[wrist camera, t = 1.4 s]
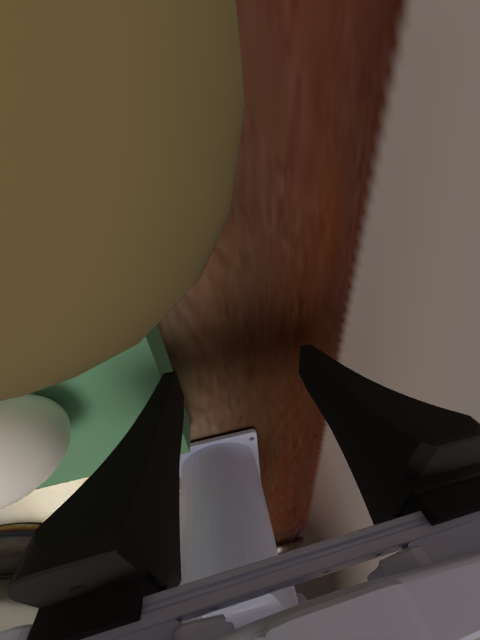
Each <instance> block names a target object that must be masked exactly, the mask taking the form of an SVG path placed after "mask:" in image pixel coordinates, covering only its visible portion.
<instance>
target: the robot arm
mask: <svg viewBox="0 0 480 640" xmlns="http://www.w3.org/2000/svg"><path fill="white" fill-rule="evenodd" d="M299 374H300V376H301V378H302V381H303V383H304V385H305V387H306V389H307V390H308V392H309V394H310V395H311V397H312V399H313V400H314V402H315V403H316V405H317V407H318V408H319V410H320V411H321V413H322V415H323V416H324V418H325V419H326V421H327V423H328V425H329V426H330V428H331V430H332V432H333V434H334V436H335V438H336V440H337V442H338V444H339V446H340V448H341V450H342V452H343V454H344V456H345V458H346V460H347V463H348V465H349V467H350V469H351V472H352V474H353V476H354V478H355V480H356V483H357V485H358V487H359V489H360V492H361V494H362V497H363V499H364V501H365V504H366V506H367V509H368V511H369V514H370V516H371V518H372V521H373V524H374V525H373V526H370V527H367V528H363V529H360V530H357V531H354V532H351V533H347V534H344V535H341V536H338V537H335V538H331V539H328V540H325V541H322V542H318V543H315V544H312V545H309V546H305V547H302V548H299V549H296V550H293V551H289V552H286V553H283V554H280V555H278V552H277V548H276V543H275V539H274V535H273V531H272V527H271V522H270V518H269V514H268V510H267V505H266V501H265V497H264V493H263V489H262V484H261V480H260V467H259V456H258V444H257V433H256V430H255V429H248V430H244V431H240V432H235V433H231V434H227V435H223V436H218V437H214V438H210V439H206V440H201V441H197V442H193V443H190V452H189V453H185V454H181V455H180V453H181V443H182V432H183V422H184V396H183V393H182V390H181V387H180V383H179V380H178V377H177V374H176V371H172V372H167V373H164V374H163V375H162V377H161V379H160V381H159V382H158V384H157V386H156V388H155V390H154V392H153V393H152V395H151V397H150V398H149V400H148V402H147V403H146V405H145V407H144V408H143V410H142V411H141V413H140V414H139V416H138V417H137V419H136V421H135V422H134V424H133V425H132V426H131V428H130V429H129V431H128V432H127V433H126V435H125V436H124V437H123V439H122V440H121V441H120V442H119V444H118V445H117V446H116V447H115V449H114V450H113V451H112V452H111V453H110V455H109V456H108V457H107V458H106V459H105V461H104V462H103V463H102V464H101V465H100V466H99V467H98V469H97V470H96V471H95V472H94V473H93V474H92V475H91V476H90V477H89V478H88V479H87V480H86V481H85V482H84V483H83V485H82V486H81V487H80V488H79V489H78V490H77V491H76V492H75V493H74V494H73V495H72V496H71V497H70V498H69V499H68V500H67V501H66V502H65V503H63V504H62V505H61V506H60V507H59V508H58V509H57V510H56V511H55V512H54V513H53V514H52V515H51V516H50V517H49V518H48V519H46V520H45V521H44V522H43V523H42V524H41V525H40V526H39V527H38V528H37V529H36V530H35V532H34V534H33V536H32V538H31V540H30V541H29V543H28V545H27V547H26V550H25V552H24V554H23V556H22V558H21V560H20V562H19V564H18V567H17V569H16V571H15V573H14V575H13V577H12V579H11V581H10V584H9V586H8V588H7V590H6V593H7V595H8V597H9V599H11V600H13V601H16V602H19V603H23V604H26V605H29V606H33V607H36V608H39V609H38V612H37V615H36V617H35V620H34V623H33V624H28V625H21V626H17V627H14V628H10V629H7V630H4V631H0V640H474V639H477V638H479V637H480V424H479V423H478V422H477V421H476V420H474V419H473V418H472V417H471V416H468V415H465V414H461V413H458V412H454V411H450V410H447V409H444V408H440V407H437V406H434V405H431V404H428V403H425V402H422V401H419V400H416V399H414V398H411V397H408V396H406V395H403V394H401V393H398V392H396V391H393V390H391V389H388V388H386V387H384V386H382V385H380V384H378V383H375V382H373V381H371V380H369V379H367V378H365V377H363V376H361V375H360V374H358V373H356V372H354V371H352V370H350V369H349V368H347V367H345V366H344V365H342V364H340V363H339V362H337V361H336V360H334V359H332V358H331V357H329V356H328V355H326V354H325V353H323V352H322V351H320V350H319V349H317V348H315V347H314V346H312V345H306V346H301V350H300V364H299ZM179 477H180V479H181V492H180V514H179ZM402 549H403V550H402ZM399 550H401V551H399ZM396 551H399V552H397V553H395V554H393V555H391V556H389V557H387V558H384V559H382V560H380V561H379V566H378V567H377V568H376V569H375V570H374V571H373V572H372V573H370V574H369V575H368V577H367V579H368V581H367V582H364V583H361V584H357V585H354V586H351V587H348V588H344V589H341V590H338V591H335V592H332V593H329V594H326V595H323V596H320V597H318V598H315V599H312V600H309V601H307V600H306V598H305V597H304V596H303V595H301V594H300V593H296V592H295V588H294V585H296V584H299V583H302V582H305V581H308V580H311V579H314V578H317V577H320V576H323V575H326V574H329V573H332V572H335V571H338V570H341V569H344V568H347V567H350V566H353V565H356V564H359V563H362V562H365V561H368V560H372V559H375V558H377V557H380V556H384V555H386V554H390V553H393V552H396Z"/></svg>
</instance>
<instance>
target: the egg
mask: <svg viewBox="0 0 480 640" xmlns="http://www.w3.org/2000/svg"><path fill="white" fill-rule="evenodd" d="M70 439H71V424H70V420H69V417H68V415H67V414H66V412H65V411H64V409H63V408H62V407H61V406H60V405H59V404H57V403H56V402H54V401H53V400H51V399H49V398H46V397H43V396H39V395H33V394H27V395H24V396H21V397H17V398H12V399H8V400H3V401H0V509H2V508H4V507H6V506H9V505H11V504H13V503H15V502H17V501H19V500H20V499H22V498H23V497H25V496H27V495H28V494H30V493H31V492H33V491H34V490H35V489H37V488H38V487H39V486H40V485H41V484H42V483H44V482H45V481H46V480H47V479H48V478H49V477H50V475H51V474H52V473H53V472H54V471H55V470H56V468H57V467H58V466H59V464H60V463H61V461H62V459H63V458H64V456H65V454H66V452H67V449H68V446H69V443H70Z"/></svg>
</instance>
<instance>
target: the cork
mask: <svg viewBox="0 0 480 640" xmlns="http://www.w3.org/2000/svg"><path fill="white" fill-rule="evenodd" d="M244 112H245V102H244V89H243V77H242V65H241V54H240V42H239V31H238V19H237V8H236V0H0V401H3V400H8V399H12V398H17V397H21V396H24V395H27V394H30V393H33V392H35V391H38V390H41V389H44V388H47V387H49V386H52V385H55V384H58V383H61V382H64V381H66V380H69V379H72V378H75V377H77V376H79V375H80V374H82V373H84V372H86V371H88V370H90V369H92V368H94V367H96V366H97V365H99V364H101V363H103V362H105V361H107V360H109V359H111V358H113V357H115V356H116V355H118V354H120V353H122V352H124V351H126V350H128V349H130V348H132V347H133V346H135V345H137V344H139V343H140V342H141V341H142V340H143V339H144V338H145V337H146V336H147V334H148V333H149V332H150V331H151V330H152V329H153V328H154V327H155V326H156V325H157V324H158V323H159V322H160V321H161V320H162V319H163V318H164V317H165V316H166V315H167V314H168V312H169V311H170V310H171V309H172V308H173V307H174V306H175V305H176V304H177V303H178V302H179V301H180V300H181V299H182V298H183V297H184V295H185V294H186V293H187V292H188V291H189V290H190V289H191V288H192V287H193V286H194V285H195V284H196V283H197V282H198V281H199V279H200V277H201V275H202V273H203V271H204V268H205V266H206V264H207V262H208V260H209V257H210V255H211V253H212V251H213V249H214V246H215V244H216V242H217V240H218V238H219V235H220V233H221V231H222V229H223V227H224V224H225V222H226V220H227V218H228V216H229V213H230V211H231V204H232V197H233V190H234V183H235V175H236V168H237V161H238V154H239V147H240V140H241V133H242V126H243V119H244Z"/></svg>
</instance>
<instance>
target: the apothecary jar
mask: <svg viewBox="0 0 480 640" xmlns="http://www.w3.org/2000/svg"><path fill="white" fill-rule="evenodd" d="M40 525H41V524H36V523H19V524H10V525H3V526H0V631H4V630H7V629H10V628H14V627H17V626H21V625H28V624H33V623H34V620H35V617H36V615H37V612H38V609H39V608H36V607H33V606H29V605H26V604H23V603H19V602H16V601H13V600H11V599H9V597H8V595H7V593H6V590H7V588H8V586H9V584H10V581H11V579H12V577H13V575H14V573H15V571H16V569H17V567H18V564H19V562H20V560H21V558H22V556H23V554H24V552H25V550H26V547H27V545H28V543H29V541H30V540H31V538H32V536H33V534H34V532H35V530H36V529H37V528H38V527H39V526H40Z"/></svg>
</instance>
